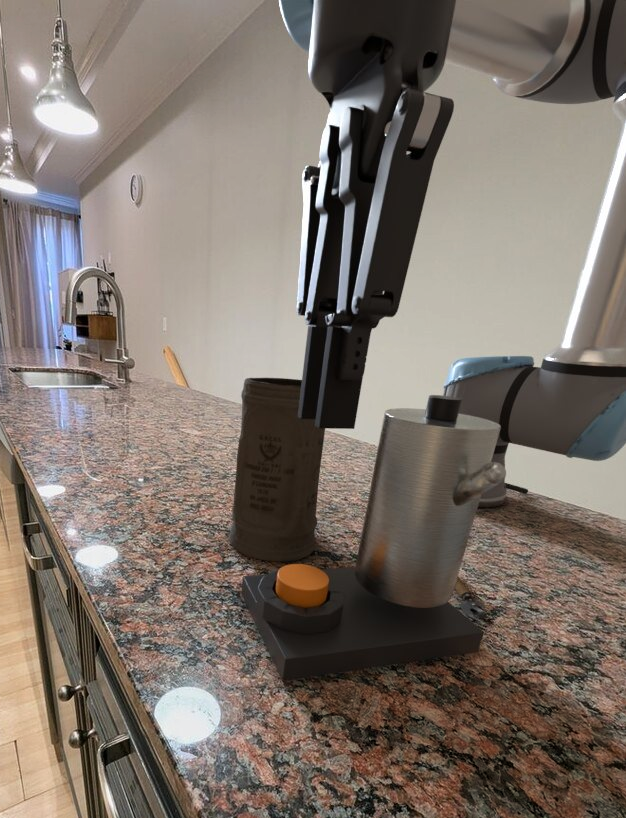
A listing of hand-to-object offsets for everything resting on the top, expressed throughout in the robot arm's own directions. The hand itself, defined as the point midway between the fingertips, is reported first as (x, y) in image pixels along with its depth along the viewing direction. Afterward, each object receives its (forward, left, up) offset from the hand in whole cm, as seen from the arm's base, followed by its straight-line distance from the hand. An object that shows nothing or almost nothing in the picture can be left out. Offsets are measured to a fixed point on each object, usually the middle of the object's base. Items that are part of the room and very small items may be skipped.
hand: (324, 422), depth 33 cm
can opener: (-20, -2, -19) cm, 27 cm away
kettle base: (-6, 0, -19) cm, 19 cm away
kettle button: (0, 0, -15) cm, 15 cm away
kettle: (-10, 0, -15) cm, 18 cm away
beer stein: (-5, -19, -19) cm, 27 cm away
